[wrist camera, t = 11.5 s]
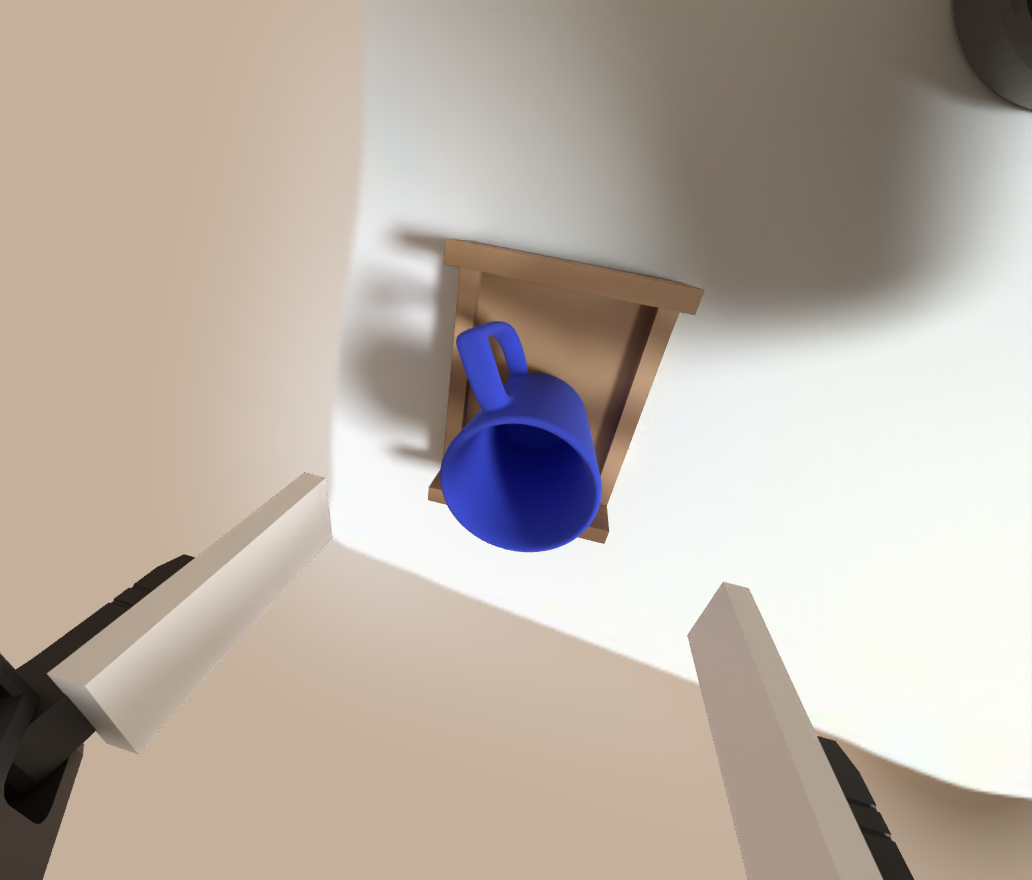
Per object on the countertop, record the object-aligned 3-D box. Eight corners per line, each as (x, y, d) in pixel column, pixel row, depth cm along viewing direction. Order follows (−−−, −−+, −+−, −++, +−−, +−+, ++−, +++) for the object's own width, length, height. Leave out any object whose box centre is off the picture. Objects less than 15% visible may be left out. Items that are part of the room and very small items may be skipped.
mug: (567, 284, 23) (556, 305, 14) (606, 450, 27) (616, 544, 19) (450, 322, 25) (377, 361, 16) (504, 469, 30) (471, 561, 21)
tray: (471, 241, 23) (445, 238, 19) (681, 282, 22) (704, 290, 18) (449, 465, 32) (427, 500, 27) (601, 502, 31) (604, 543, 26)
